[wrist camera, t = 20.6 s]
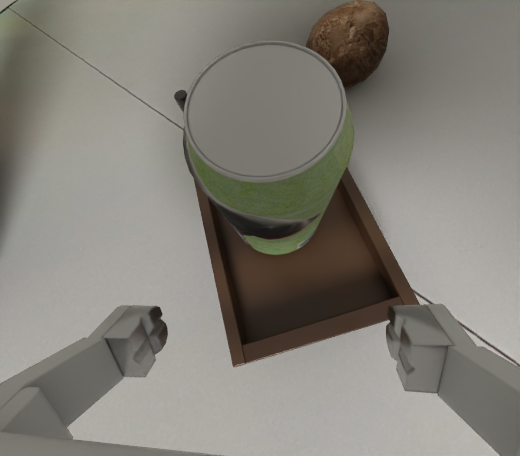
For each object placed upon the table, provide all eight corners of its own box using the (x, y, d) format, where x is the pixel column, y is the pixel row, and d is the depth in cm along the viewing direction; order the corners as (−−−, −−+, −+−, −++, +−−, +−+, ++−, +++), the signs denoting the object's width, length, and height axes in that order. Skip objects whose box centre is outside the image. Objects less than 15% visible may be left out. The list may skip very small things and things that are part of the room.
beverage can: (277, 170, 20) (238, -13, 9) (352, 226, 17) (421, 57, 7) (221, 224, 19) (105, 92, 9) (290, 292, 17) (250, 225, 6)
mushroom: (367, -1, 27) (361, -43, 22) (403, 63, 27) (406, 37, 21) (304, 56, 31) (286, 33, 26) (335, 112, 31) (323, 101, 25)
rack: (393, 314, 19) (488, 298, 9) (253, 357, 19) (190, 389, 9) (315, 152, 25) (317, 34, 15) (212, 189, 26) (149, 100, 16)
